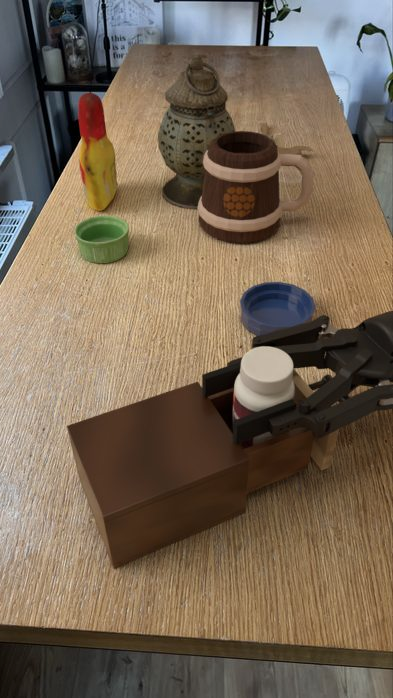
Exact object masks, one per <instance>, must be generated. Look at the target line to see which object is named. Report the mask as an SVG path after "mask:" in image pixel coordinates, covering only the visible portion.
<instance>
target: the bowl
mask: <svg viewBox="0 0 393 698" xmlns="http://www.w3.org/2000/svg"><path fill="white" fill-rule="evenodd" d="M316 307H317V306H316V303H315V300H314V298H313V296H312V295H310V293H308V291H306V290H305V289H304V288H302V287H299V286H297V285H296V284H293V283H288V282H283V281H266V282H265V281H264V282H262V283H259V284H255V285H252V286H251V287H249V288H248V289H246V290H245V291H244V292H243V293H242V296H241V298H240V300H239V317H240V318H239V319H240V322H241V323H242V325H243V326H244V327H245V328H246V329H247V331H249V332H251V333H252V334H254V335H255V336H260V335H264V334H267V333H271V332H275V331H279V330H282V329H286V328H290V327H294V326H298V325H301V324H305V323H309V322H311V321H313V320H315V314H316Z"/></svg>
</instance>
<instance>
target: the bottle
mask: <svg viewBox="0 0 393 698" xmlns="http://www.w3.org/2000/svg"><path fill="white" fill-rule="evenodd" d="M78 125H79V134H80V137H81V144H80V147H79V152H78V164H79V171H80V172H79V173H80V177H81V183H82V188H83V189H82V190H83V192H84V197H85V200H86V203H87V205H88V206H89V207H90V208H91V209H92V210H94V211H103V210H105V208H107V207H108V206H109V204H110V203H111V202H112V200H113V199H114V197H115V194H116V193H117V186H118V185H119V183H118V179H117V178H118V173H117V164H116V151H115V147H114V145H113V142H112V141H111V140H110V139H109V137H108V134H107V133H108V132H107V127H106V126H107V125H106V117H105V110H104V104H103V101H102V99H101V97H100V96H99V95H97V94H96V93H93V92H86V93H85V92H84V93H83V94H82V95H81V96H80V97H79V99H78Z"/></svg>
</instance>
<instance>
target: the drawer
mask: <svg viewBox="0 0 393 698" xmlns="http://www.w3.org/2000/svg"><path fill="white" fill-rule="evenodd" d="M333 377H334V376H332V375H331V374H330V373H329V374H325V375H324V376H323V377H322V378H321V379H320V380H319V381H316V382H313V383H310V384H307V382H306V381H305V380H304V379H303V378H302V376H301V375H300V374H299V373H298V372H297V371H296V370H295V369H293V378H292V380H293V382H294V386H295V395H294V401H295V403H296V408H298V407H299V404H300V399H301V398H302V402H303V399H304V400H305V399H306V398H308V397H309V396H310V395H311V394H313V393H314V392H315V391H317V390H318V389H319V388H320V387H322V386H323V385H324V384H325V383H327V382H328V381H329V380H330V379H332V378H333ZM208 397H209V399H210V401H211V402H212V404H213V405H214V407H215V408H216V410H217V411H218V413H219V414H220V416H221V417H222V419H223V420H224V422H225V423H226V425H227V426H228V428H229V429H230V431H231V432H232V415H233V397H234V388H231V389H228V390H225V391H223V392H220V393H217V394H214V395H211V396H208ZM351 397H352V396H351V395H350V394H349V395H347V396H345V395H344V396H343V397H342V398H341V399H339V400H338V401H337V403H340V402H342V401H344V400H346V399H348V398H351ZM339 431H340V429H338V430H336V431H334V432H332V433H330V434H328V435H326V436H324V437H322V438H316V437H314V436H313V434H312V431H311V430H309V429H308V428H306V427H297V428H294V429H292V430H289V432H287V433H284V434H281V435H279V436H276V437H274V438H271V439H269V440H266V441H263V442H261V443H258V444H256V445H253V446H251V447H248V448H245V449H243V450H244V452H245V453H246V455H247V456H248V458H249V473H248V485H247V494H249V493H250V494H251V493H252V492H255V491H257V490H260V489H262V488H265V487H266V486H269V485H271V484H273V483H276V482H279V481H281V480H283V479H286V478H288V477H290V476H293V475H295V474H298V473H301V472H303V471H305V470H307V469H309V465H310V460H311V458H312V460H313V461H314V463H315V464H316V466H317V467H318V468H319V469H320V470H321V471H323V470H325V469H328V468H330V467H331V465H332V462H333V457H334V452H335V449H336V444H337V440H338V436H339Z"/></svg>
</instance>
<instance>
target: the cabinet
mask: <svg viewBox="0 0 393 698" xmlns="http://www.w3.org/2000/svg"><path fill="white" fill-rule="evenodd" d="M66 430H67V433H68V437H69V442H70V446H71V450H72V455H73V459H74V463H75V467H76V472H77V475H78V480H79V482H80V484H81V487H82V490H83V493H84V496H85V499H86V500H87V503H88V506H89V508H90V510H91V513H92V516H93V518H94V521H95V524H96V526H97V529H98V533H99V535H100V537H101V540H102V542H103V544H104V547H105V550H106V553H107V555H108V558H109V561H110V563H111V565H112V568H113V569H116V568H118V567H121V566H124V565H125V564H128V563H130V562H133V561H134V560H135V561H136V560H137V559H139V558H142V557H144V556H147V555H149V554H152V553H153V552H156V551H158V550H161V549H163V548H166V547H168V546H170V545H173V544H175V543H178V542H180V541H182V540H184V539H187V538H190V537H191V536H193V535H196V534H199V533H201V532H204V531H206V530H207V529H210V528H212V527H215V526H217V525H219V524H222V523H225V522H226V521H229V520H231V519H234V518H236V517H238V516H240V515H243V514H245V513H246V507H247V496H248V493H247V485H248V473H249V458H248V456H247V455H246V453H245V452H244V450H243V449H242V447H241V446H240V444H239V443H238V444H236V443H235V442H234V440H233V434H232V432H231V431H230V429H229V428H228V426H227V425H226V423H225V422H224V420H223V419H222V417H221V416H220V414H219V413H218V411H217V410H216V408H215V407H214V405H213V404H212V402H211V401H210V399H209V397H205V396H204V394H203V393H202V384H200V382H199V381H194V382H192V383H188V384H187V385H186V384H185V385H183V386H180V387H178V388H175V389H172V390H169V391H166V392H163V393H160V394H156V395H154V396H151V397H147V398H145V399H141V400H139V401H136V402H133V403H130V404H127V405H124V406H120V407H118V408H115V409H113V410H109V411H106V412H103V413H100V414H97V415H95V416H91V417H88V418H85V419H82V420H80V421H77V422H73V423H71V424H68V425H66Z"/></svg>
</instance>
